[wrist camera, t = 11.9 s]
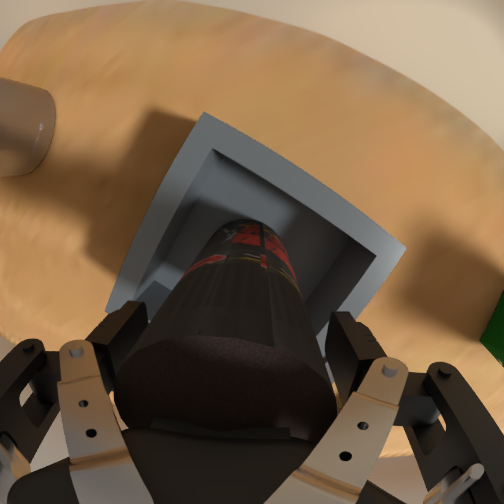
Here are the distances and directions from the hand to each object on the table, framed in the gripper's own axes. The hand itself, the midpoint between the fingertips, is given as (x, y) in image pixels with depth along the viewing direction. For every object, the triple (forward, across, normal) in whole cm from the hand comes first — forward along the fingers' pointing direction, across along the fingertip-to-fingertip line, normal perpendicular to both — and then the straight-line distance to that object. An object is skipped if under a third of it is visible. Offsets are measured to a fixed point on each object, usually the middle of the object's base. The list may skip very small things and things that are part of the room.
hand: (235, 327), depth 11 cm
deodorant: (+10, 0, 0) cm, 10 cm away
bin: (+10, 0, 0) cm, 11 cm away
